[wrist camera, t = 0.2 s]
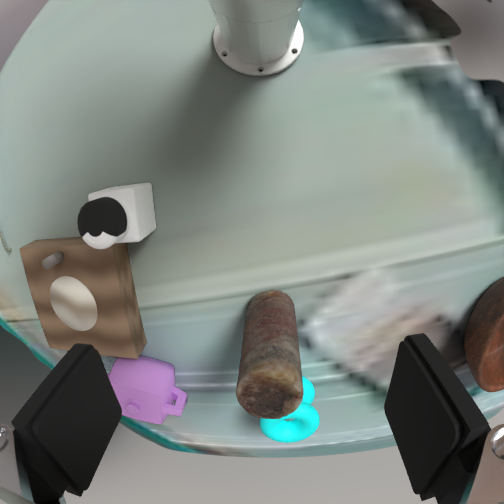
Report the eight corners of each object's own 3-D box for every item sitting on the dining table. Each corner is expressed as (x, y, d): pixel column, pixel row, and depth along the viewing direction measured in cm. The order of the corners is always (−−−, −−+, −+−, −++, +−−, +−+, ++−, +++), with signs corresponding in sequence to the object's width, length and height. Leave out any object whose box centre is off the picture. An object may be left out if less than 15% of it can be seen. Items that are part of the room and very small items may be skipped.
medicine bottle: (110, 187, 43) (67, 200, 32) (152, 181, 43) (115, 193, 31) (116, 231, 45) (76, 256, 34) (157, 229, 45) (124, 254, 33)
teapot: (109, 382, 56) (90, 414, 46) (103, 343, 52) (79, 375, 43) (190, 402, 56) (180, 439, 46) (192, 364, 53) (180, 403, 43)
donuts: (254, 442, 46) (266, 406, 42) (256, 403, 55) (266, 367, 52) (310, 447, 46) (328, 412, 43) (305, 409, 55) (320, 373, 52)
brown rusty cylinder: (251, 331, 50) (245, 424, 31) (240, 292, 48) (226, 378, 29) (297, 322, 49) (312, 413, 30) (289, 282, 47) (303, 366, 28)
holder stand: (36, 240, 46) (4, 256, 37) (125, 234, 45) (96, 252, 36) (61, 334, 52) (38, 359, 44) (146, 342, 51) (128, 374, 43)
